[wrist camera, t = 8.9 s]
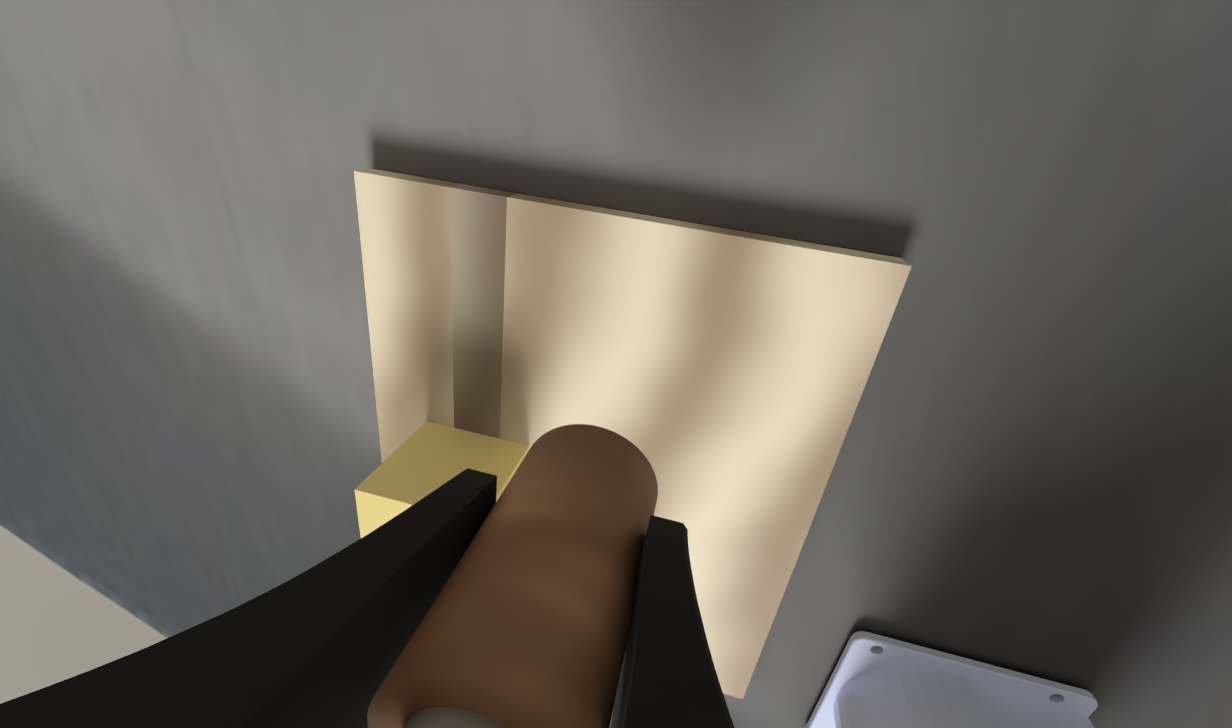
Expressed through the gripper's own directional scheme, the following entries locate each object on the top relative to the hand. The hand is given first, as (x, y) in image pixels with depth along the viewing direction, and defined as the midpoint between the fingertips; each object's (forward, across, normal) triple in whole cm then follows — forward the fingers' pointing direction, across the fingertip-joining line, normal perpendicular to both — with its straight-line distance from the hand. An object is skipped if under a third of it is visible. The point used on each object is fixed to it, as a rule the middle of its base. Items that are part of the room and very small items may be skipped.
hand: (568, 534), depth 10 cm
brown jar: (+2, 0, 0) cm, 2 cm away
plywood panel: (+10, +2, +6) cm, 12 cm away
